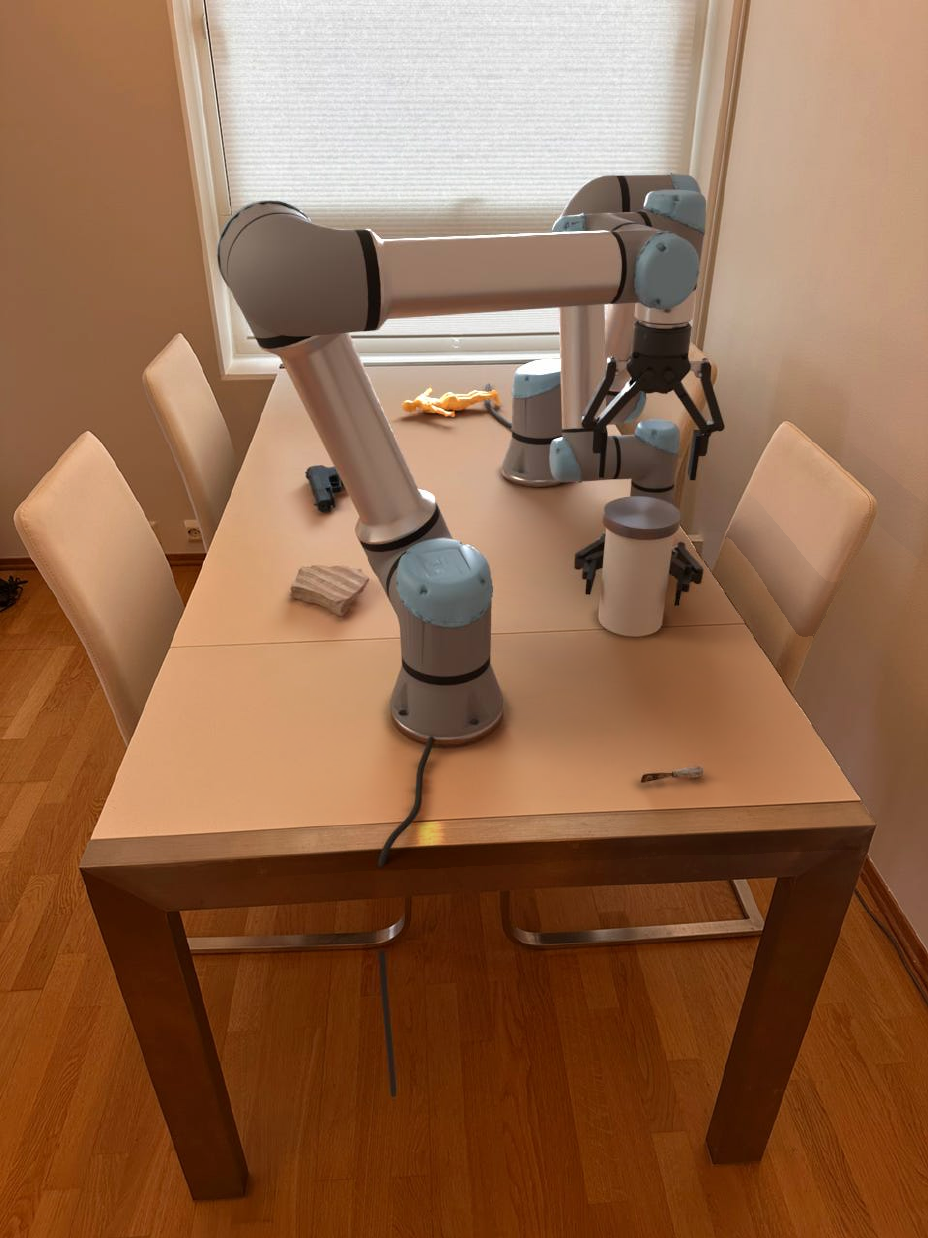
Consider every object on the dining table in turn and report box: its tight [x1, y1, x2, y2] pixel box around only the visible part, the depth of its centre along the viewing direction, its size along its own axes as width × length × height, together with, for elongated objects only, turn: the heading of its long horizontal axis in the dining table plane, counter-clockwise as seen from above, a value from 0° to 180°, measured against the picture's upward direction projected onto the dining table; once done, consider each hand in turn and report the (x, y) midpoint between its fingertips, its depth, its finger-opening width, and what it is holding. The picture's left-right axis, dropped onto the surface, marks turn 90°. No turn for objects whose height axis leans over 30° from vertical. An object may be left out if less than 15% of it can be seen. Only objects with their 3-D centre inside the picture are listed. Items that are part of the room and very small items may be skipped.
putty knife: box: [640, 765, 705, 784], centre depth 109 cm, size 1×8×2 cm, turn 103°
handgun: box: [304, 464, 345, 513], centre depth 182 cm, size 3×18×12 cm
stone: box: [289, 564, 370, 617], centre depth 147 cm, size 13×12×2 cm
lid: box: [602, 496, 682, 540], centre depth 131 cm, size 11×11×2 cm
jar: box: [597, 527, 675, 638], centre depth 136 cm, size 10×10×18 cm
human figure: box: [402, 385, 500, 418], centre depth 225 cm, size 20×20×4 cm
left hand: (646, 475), depth 128 cm, fingers open, 12 cm apart
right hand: (632, 592), depth 135 cm, fingers open, 13 cm apart
